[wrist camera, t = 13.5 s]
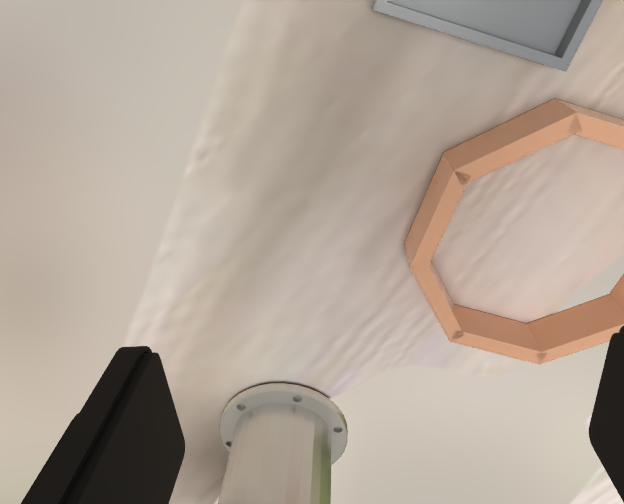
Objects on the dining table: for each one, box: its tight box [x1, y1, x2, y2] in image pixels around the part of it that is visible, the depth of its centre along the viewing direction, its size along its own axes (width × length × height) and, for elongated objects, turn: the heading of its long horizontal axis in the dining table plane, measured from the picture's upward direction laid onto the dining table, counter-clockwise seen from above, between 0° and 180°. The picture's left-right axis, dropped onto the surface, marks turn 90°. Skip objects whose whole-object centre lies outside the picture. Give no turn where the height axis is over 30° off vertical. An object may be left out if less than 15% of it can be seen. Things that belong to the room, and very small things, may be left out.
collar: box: [404, 99, 624, 364], centre depth 35 cm, size 18×18×4 cm
